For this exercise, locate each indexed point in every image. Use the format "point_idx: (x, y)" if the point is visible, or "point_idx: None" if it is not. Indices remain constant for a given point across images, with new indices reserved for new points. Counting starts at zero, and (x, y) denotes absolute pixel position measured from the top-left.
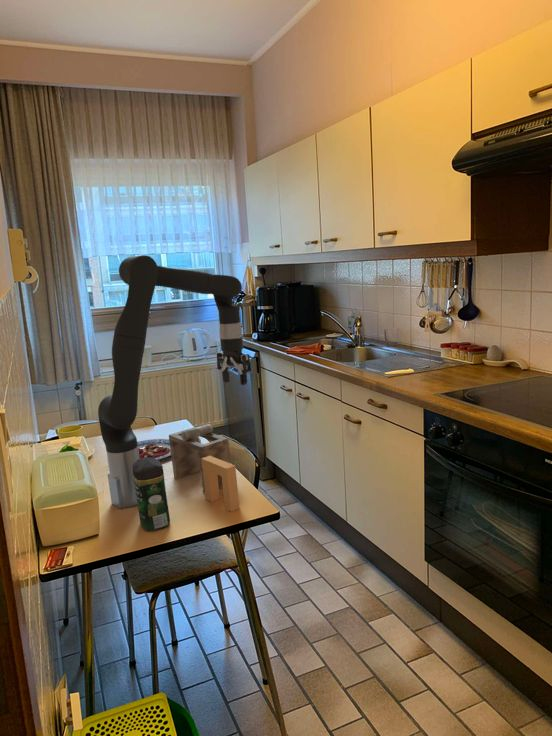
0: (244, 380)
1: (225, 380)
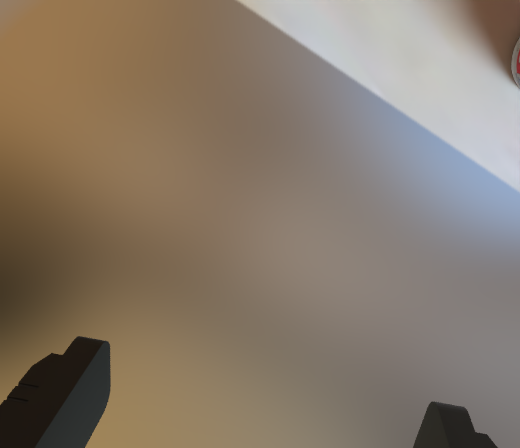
0: (19, 389)
1: (436, 428)
